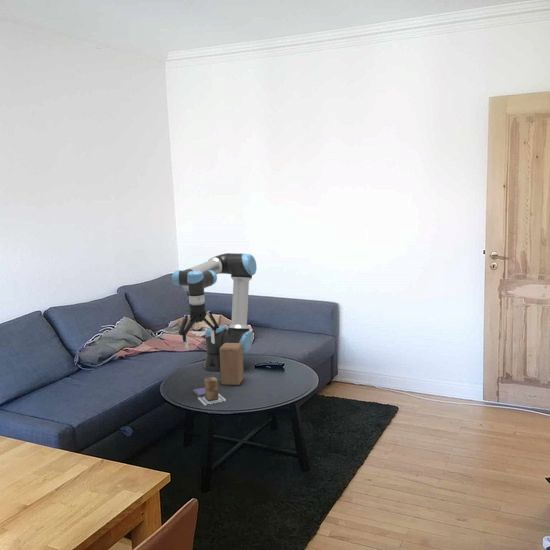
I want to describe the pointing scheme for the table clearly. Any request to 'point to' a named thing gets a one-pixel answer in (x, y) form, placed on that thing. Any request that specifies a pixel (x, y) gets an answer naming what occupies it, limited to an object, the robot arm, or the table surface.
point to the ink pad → (199, 392)
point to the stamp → (211, 389)
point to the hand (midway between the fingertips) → (200, 345)
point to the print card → (211, 401)
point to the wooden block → (231, 363)
